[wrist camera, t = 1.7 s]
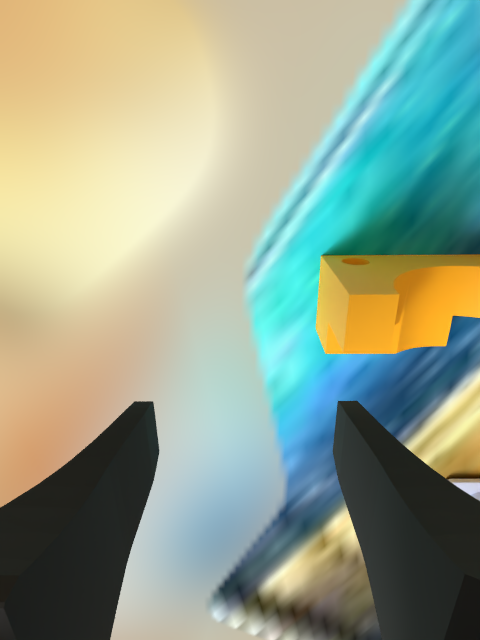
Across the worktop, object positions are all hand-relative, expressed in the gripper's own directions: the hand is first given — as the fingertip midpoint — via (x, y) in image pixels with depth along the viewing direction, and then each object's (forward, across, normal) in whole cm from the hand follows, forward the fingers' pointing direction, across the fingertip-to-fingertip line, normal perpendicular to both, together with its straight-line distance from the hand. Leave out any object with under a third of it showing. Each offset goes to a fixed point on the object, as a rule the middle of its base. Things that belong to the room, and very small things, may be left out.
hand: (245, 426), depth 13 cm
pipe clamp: (+11, -10, -1) cm, 15 cm away
